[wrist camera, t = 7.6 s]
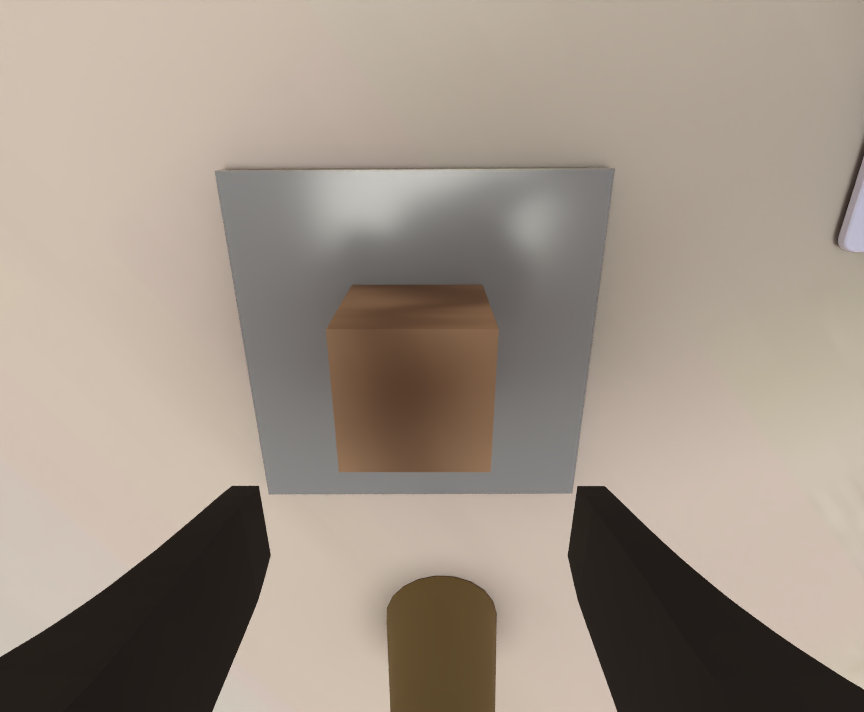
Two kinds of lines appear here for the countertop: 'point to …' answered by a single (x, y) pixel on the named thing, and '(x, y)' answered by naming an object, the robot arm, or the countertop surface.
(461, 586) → the cork
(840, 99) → the countertop surface
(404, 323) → the walnut cube
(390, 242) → the slate board
